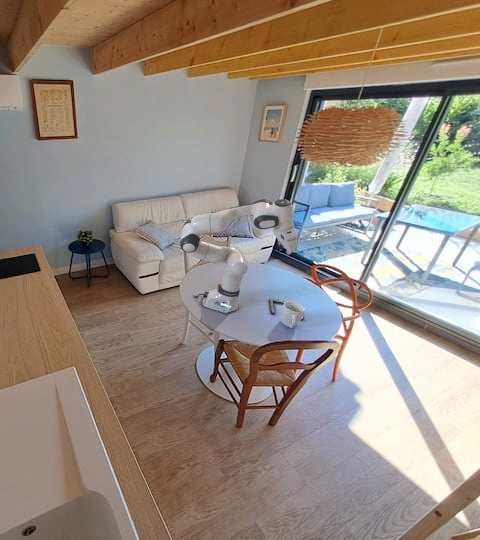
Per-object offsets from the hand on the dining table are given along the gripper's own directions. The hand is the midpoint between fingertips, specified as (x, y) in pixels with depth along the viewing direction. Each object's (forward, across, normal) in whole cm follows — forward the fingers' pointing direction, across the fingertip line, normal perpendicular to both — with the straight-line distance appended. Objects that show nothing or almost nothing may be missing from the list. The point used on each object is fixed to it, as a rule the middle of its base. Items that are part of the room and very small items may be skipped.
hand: (284, 248), depth 155 cm
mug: (+46, +16, -7) cm, 49 cm away
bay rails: (+50, +2, -2) cm, 50 cm away
